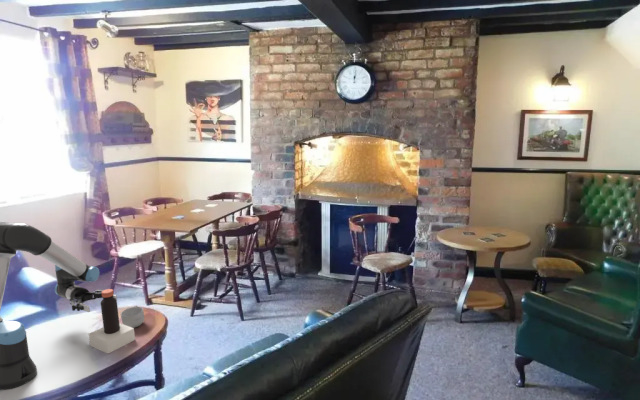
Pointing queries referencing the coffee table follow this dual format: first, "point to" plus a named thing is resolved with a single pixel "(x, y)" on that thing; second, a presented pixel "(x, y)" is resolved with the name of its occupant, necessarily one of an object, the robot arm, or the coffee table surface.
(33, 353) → the coffee table surface
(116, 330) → the vinegar
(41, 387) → the coffee table surface
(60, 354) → the coffee table surface
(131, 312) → the teacup
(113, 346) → the riser
